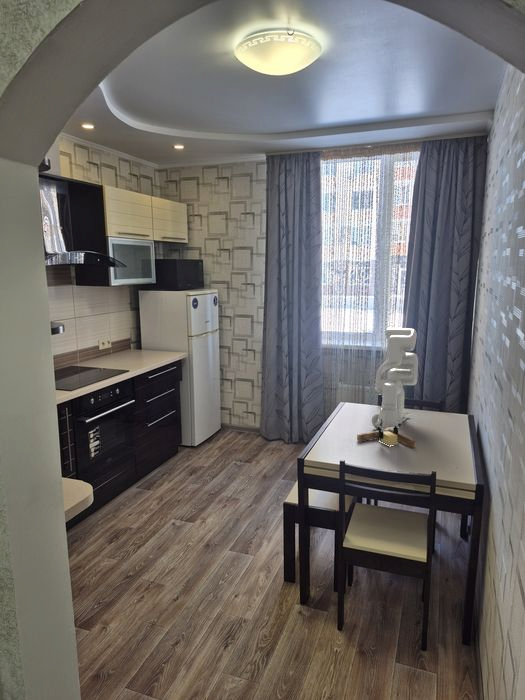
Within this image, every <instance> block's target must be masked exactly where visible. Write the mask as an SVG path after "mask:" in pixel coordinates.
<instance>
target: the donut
mask: <svg viewBox="0 0 525 700" xmlns="http://www.w3.org/2000/svg"><path fill="white" fill-rule="evenodd" d="M379 413H380V412H377V413H375V414H373V416H372V418H371V424H372V426H373V427H374V428H375V429H376V426H375V423H377V422H378V421H379ZM381 429H382V428H381ZM385 429H387V428H384V430H385Z"/></svg>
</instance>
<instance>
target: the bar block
mask: <svg viewBox="0 0 525 700" xmlns="http://www.w3.org/2000/svg"><path fill="white" fill-rule="evenodd" d="M382 432H384V433H383V439H381V438H380V439H379V440H380V441H381V442H383V443H385V444H387V445H389V446H390V445H396V444H398V441H397V435H396V434H393V433H391V432H389V431H382Z"/></svg>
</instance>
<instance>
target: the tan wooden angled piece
mask: <svg viewBox="0 0 525 700" xmlns="http://www.w3.org/2000/svg"><path fill="white" fill-rule="evenodd" d="M383 431H389V432H391V433H393V429H392V428H386V429H384V430H383ZM378 435H379V431H378V430H374V431H370V432H369V431H368V432H364V433H359V434H356V436H357V437H356V441H357V440H358V441H364V440H369V441H371V440H370V439H374V440H376V439H375V438H379V436H378ZM397 440H398V441H397V442H399V441H400V442H399V443H401V442H402V443H401V444H403V443H404V445H405V444H406V446H407V445H408V447H409V446H410V447H409V448H411V447H412V448H411V449H414V448H416V440H415V439H413V438H411V437H409V436H407V435H404V434H403V433H401V432H399V431H398V436H397ZM364 442H365V441H364ZM399 443H397V444H396V445H398V446H400V444H399ZM396 445H394V446H393V447H397V446H396ZM385 447H387V445H386V446H385Z"/></svg>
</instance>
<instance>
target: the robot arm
mask: <svg viewBox="0 0 525 700" xmlns="http://www.w3.org/2000/svg"><path fill="white" fill-rule="evenodd" d="M384 334H385V337H386V340H387V346H386V354H385V355H386V357H385V361H384V362H383V363H382V364H381V365H380V366H379V367H378V368H377V371H376V373H375V385H374V388H375V391H376V392H378V393H382V396H381V397H382V401H381V408H380V410H379V412H378V413H379V419H378V422H377V423H375V426H376V428H375V429H376V431H379V435H378V436H379V438H381V439H383V433H384V432H382V431H383V430H385V429H384V428H386V429H390V428H393V429H392V430H393V434H396V435H397V436H398V432H399V429H400V427H401V426H402V423H403V422H405V421H406V419H407V417H406V415H410V411H408V410H407V411H405V390H404V386H415V385H416V384H417V383H418V377H419V375H418V373H419V358H418V355H417V354H416V353H414V352H412V351H414V349H415V347H416V343H417V338H418V337H417V335H418V334H417V331H416V329H415V328H411V327H409V328H408V327H407V328H406V327H387V328H386V329H385V333H384ZM406 351H407V352H406ZM386 371H387V378H382V375H383V374H384V372H386ZM381 428H382V429H381Z"/></svg>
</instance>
